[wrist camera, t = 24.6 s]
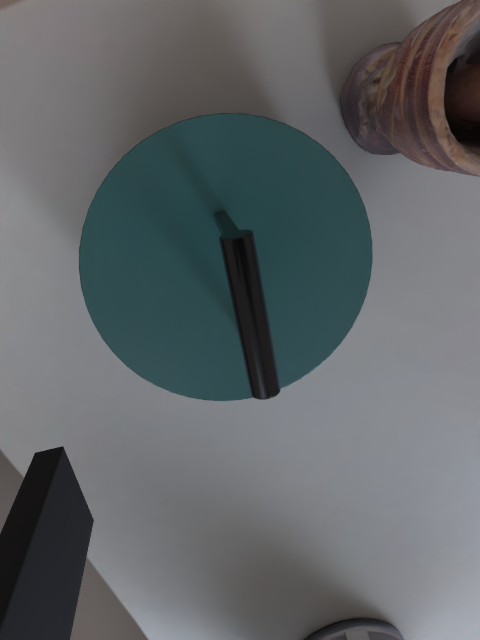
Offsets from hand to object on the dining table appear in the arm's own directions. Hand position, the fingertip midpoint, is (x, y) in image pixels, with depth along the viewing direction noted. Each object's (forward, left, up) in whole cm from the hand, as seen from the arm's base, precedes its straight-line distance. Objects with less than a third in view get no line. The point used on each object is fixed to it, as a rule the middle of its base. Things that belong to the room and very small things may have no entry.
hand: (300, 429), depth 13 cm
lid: (0, 0, -17) cm, 17 cm away
